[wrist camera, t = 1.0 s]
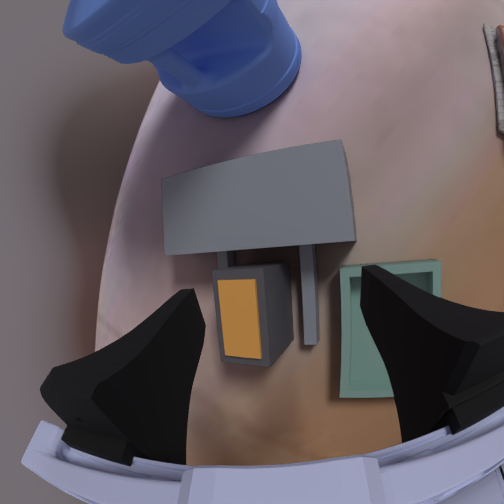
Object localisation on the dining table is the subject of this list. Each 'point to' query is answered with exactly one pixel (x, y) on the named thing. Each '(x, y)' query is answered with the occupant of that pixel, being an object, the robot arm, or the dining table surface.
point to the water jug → (196, 47)
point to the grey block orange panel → (253, 312)
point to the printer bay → (264, 210)
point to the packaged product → (497, 68)
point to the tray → (358, 336)
